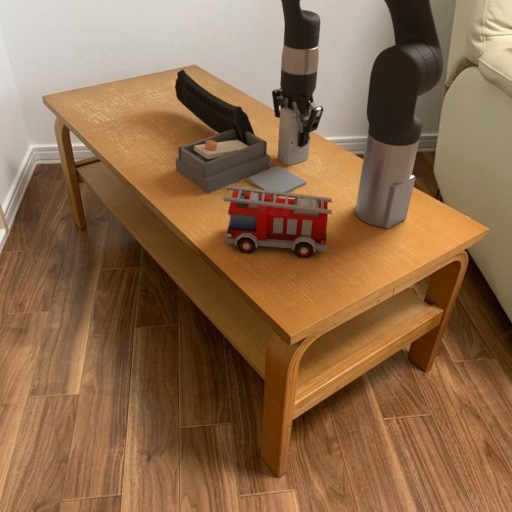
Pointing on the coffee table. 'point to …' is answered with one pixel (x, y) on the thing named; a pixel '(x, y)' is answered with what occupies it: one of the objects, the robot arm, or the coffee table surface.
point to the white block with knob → (218, 148)
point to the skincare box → (290, 139)
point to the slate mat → (276, 180)
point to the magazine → (211, 108)
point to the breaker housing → (223, 162)
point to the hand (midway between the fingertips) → (294, 141)
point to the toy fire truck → (277, 221)
